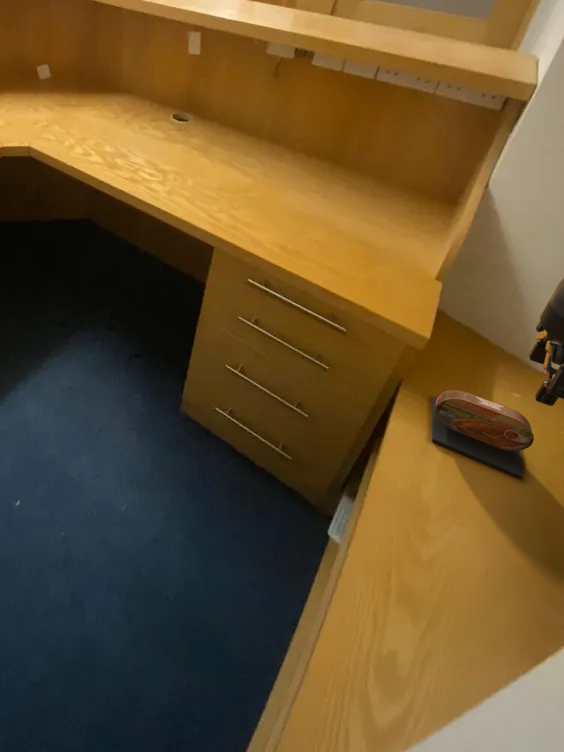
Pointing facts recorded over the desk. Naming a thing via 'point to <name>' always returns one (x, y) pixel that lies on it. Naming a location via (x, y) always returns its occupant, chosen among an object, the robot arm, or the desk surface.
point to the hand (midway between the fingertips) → (539, 380)
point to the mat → (475, 447)
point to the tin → (484, 420)
